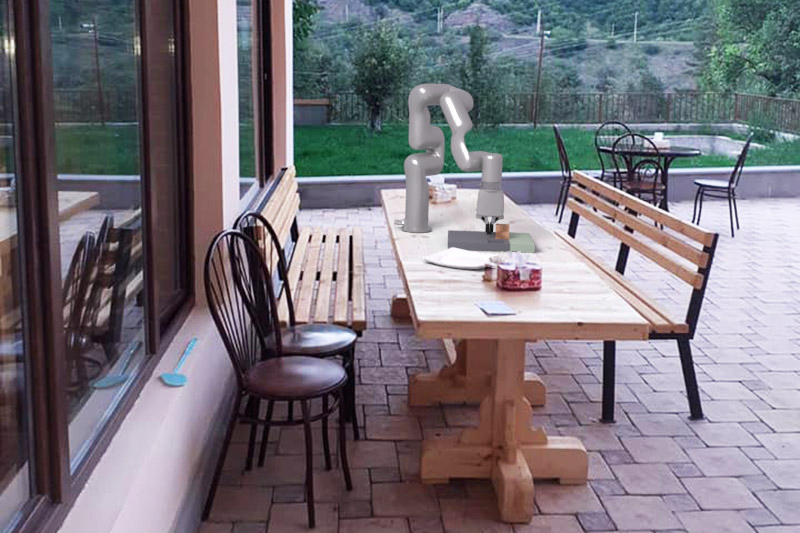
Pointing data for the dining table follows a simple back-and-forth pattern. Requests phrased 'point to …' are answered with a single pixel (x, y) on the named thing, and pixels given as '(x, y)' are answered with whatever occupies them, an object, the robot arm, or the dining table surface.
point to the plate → (459, 258)
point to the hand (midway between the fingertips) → (489, 233)
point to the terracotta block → (502, 231)
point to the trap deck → (490, 241)
